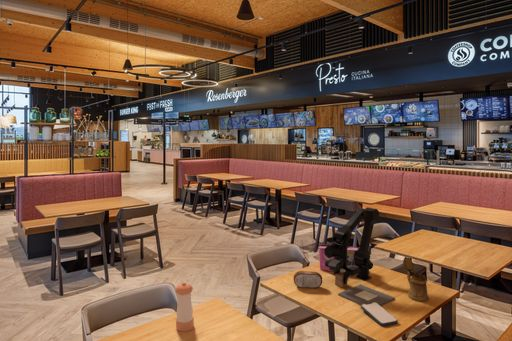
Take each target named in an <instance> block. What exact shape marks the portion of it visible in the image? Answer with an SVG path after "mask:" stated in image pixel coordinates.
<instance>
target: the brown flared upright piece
mask: <svg viewBox="0 0 512 341" xmlns="http://www.w3.org/2000/svg"><path fill="white" fill-rule="evenodd" d="M402 263H403V266H404V268H405V269H406V271H407V275H406V276H407V277H406V278H407V281H408V284H409V291H408V293H407V296H408V298H409V299H411V300H413V301H415V302H427V301H429V295H428V288H427V283H428V281H427V277H426V275H424V274H422V273H416V272H415V271H414V269H415V268H414V267H415V265H414V262H413V260H412V259H410V258H409V257H408V256H407V257H406V256H404V258H403V260H402Z"/></svg>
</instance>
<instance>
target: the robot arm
mask: <svg viewBox="0 0 512 341" xmlns="http://www.w3.org/2000/svg"><path fill="white" fill-rule="evenodd" d="M379 216H380V211H379V210H378V209H377V208H374V207H368V206H367V207H365V208H357V209H356V210H355V212H354V214H352V216H351V217H350V218H349V220H348V221H347V222H346V223H345V224H344V225H343V226H341V227H339V228H338V229H337V230H335V232H334V234H333V235H332V238H331V240H330V242H329V243H327V244H326V245H327V247H326V248H325V250H324V253H325V256H326V257H327V258H331V257H334V260H333V259H330V260H327V261H326V262H325V266H326V267H329V270H332V271H331V272H333V275H335V274H336V273H339V272H340V270H341V269H343V270H345V272H343V275H344V284H346V283H347V284H348V280H349V278H350V276H352V277H353V276H355V278H357V279H360V280H363V281H367V280H368V279H372V278H373V277H372V276H371V275H370V270H372V269H373V267H374V263H373V262H372V261H371V253H370V251H369V250H370V244H371V239H372V235H373V229H374V225H375V224H376V223H377V222H378V221H379ZM362 220H363V222H364V225H363V228H362V234H361V238H360V242H359V246H358V247H359V249H358V250H357V251H356V250H355V251H354V256H353V257H354V263H355V265H356V266H358V268H356V267H353V266H352V267H347V266H348V265H349V264H348V263H347V258H349V256H347V246H351V243H350V242H349V241H350V239H351V238H352V236H353V231H354V230H355V229H356V228H357V226H359V223H360V222H362Z"/></svg>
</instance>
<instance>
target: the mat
mask: <svg viewBox="0 0 512 341" xmlns="http://www.w3.org/2000/svg"><path fill="white" fill-rule="evenodd" d="M337 295H338V297H339V296H340V297H341V298H344V299H346V300H347V301H348V300H349V301H351V302H353V303H355V304H358V305H360V306H361V305H362V304H367V303H372V302H376V303H378V304H379V305H380V306H381V307H383V306H384V305H386V304H388V303H390V302H391V301H394V300H395V298H396V297H395V296H392V295H389V294H387V293H384V292H381V291H379V290H376V289H374V288H370V287H368V286H366V285H362V284H358V285H355V286H353V287H351V288H348V289H346V290H344V291H341V292H338V293H337Z"/></svg>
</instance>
